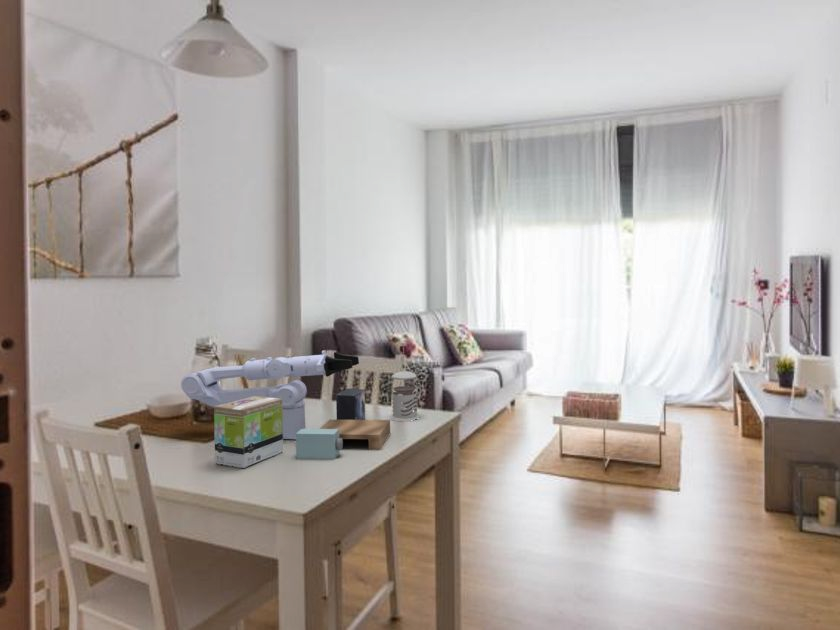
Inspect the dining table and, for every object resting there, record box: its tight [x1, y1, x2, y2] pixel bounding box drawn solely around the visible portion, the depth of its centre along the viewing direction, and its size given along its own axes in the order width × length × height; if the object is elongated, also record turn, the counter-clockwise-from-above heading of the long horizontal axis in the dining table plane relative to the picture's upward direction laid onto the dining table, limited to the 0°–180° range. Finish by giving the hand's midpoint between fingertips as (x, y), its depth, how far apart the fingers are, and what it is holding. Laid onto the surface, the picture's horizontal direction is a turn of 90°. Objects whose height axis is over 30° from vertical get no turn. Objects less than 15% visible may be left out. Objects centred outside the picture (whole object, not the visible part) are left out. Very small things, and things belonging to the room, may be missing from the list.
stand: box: [319, 419, 391, 450], centre depth 166 cm, size 18×16×4 cm
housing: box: [295, 428, 344, 460], centre depth 153 cm, size 11×5×6 cm, turn 83°
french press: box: [390, 340, 422, 422], centre depth 192 cm, size 10×12×25 cm
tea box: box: [213, 396, 284, 469], centre depth 152 cm, size 15×10×15 cm, turn 155°
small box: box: [335, 387, 366, 420], centre depth 184 cm, size 11×6×10 cm, turn 168°
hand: (355, 362), depth 168 cm, fingers open, 7 cm apart
